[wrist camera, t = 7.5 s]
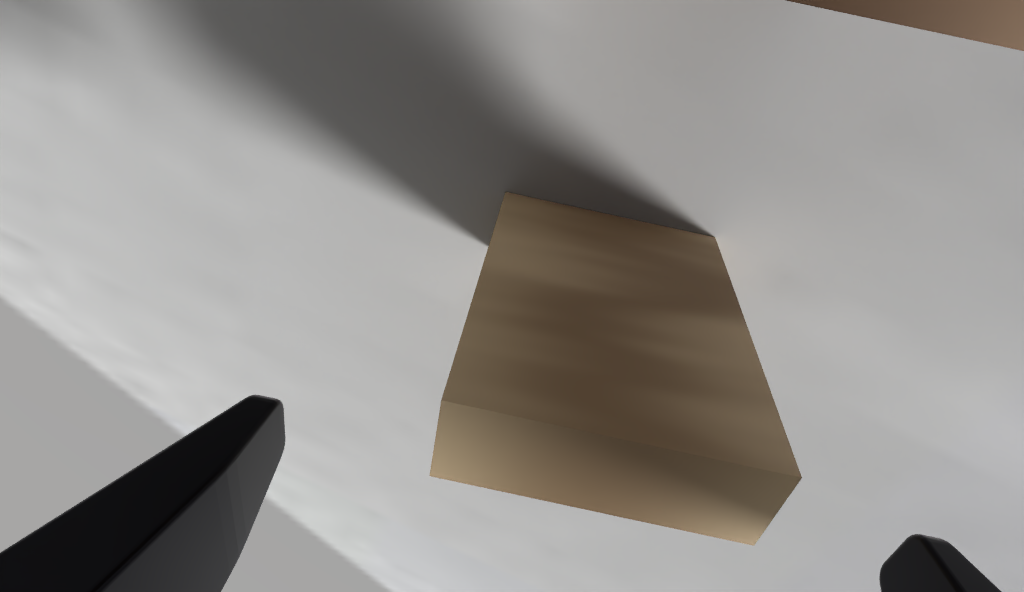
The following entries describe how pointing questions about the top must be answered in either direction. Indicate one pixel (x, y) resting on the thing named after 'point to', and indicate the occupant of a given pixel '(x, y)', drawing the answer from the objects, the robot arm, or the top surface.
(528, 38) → the top surface
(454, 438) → the oak domino
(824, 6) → the domino
